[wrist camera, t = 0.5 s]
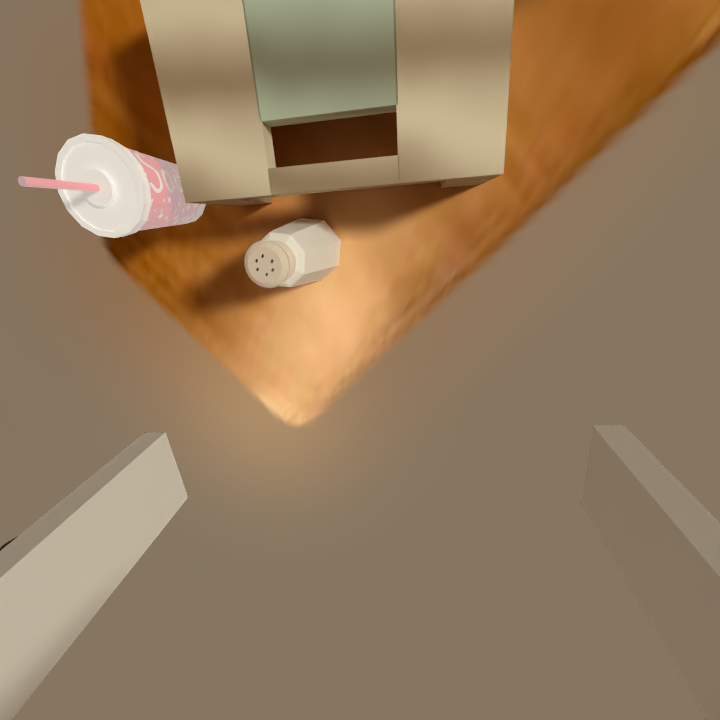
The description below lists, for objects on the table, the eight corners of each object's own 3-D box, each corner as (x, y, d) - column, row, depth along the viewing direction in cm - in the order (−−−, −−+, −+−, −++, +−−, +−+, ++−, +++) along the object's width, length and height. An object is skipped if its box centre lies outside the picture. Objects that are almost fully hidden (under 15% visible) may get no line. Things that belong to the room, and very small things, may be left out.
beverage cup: (221, 229, 32) (93, 239, 19) (158, 234, 33) (-3, 246, 20) (205, 151, 30) (50, 104, 17) (139, 159, 31) (-55, 119, 18)
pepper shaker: (273, 262, 33) (210, 283, 23) (296, 204, 31) (239, 198, 21) (326, 291, 33) (287, 325, 23) (353, 236, 31) (323, 246, 21)
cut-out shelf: (202, -4, 26) (120, -89, 19) (490, -57, 23) (525, -183, 16) (239, 205, 31) (185, 202, 24) (480, 184, 28) (503, 173, 21)
